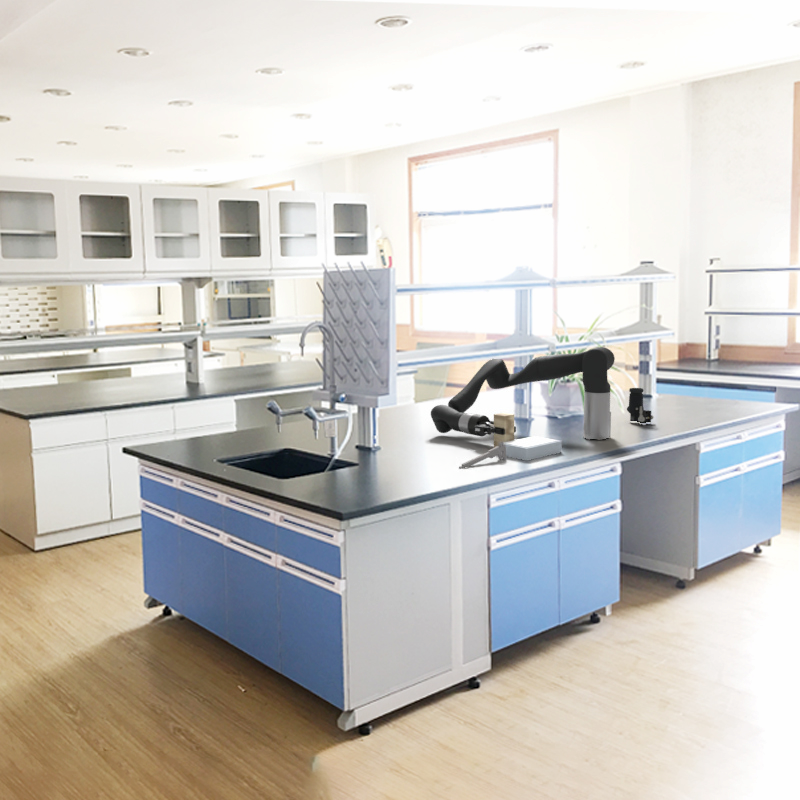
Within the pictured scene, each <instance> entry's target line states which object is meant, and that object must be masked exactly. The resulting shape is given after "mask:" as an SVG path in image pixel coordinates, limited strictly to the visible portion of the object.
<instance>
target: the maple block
mask: <svg viewBox="0 0 800 800" xmlns="http://www.w3.org/2000/svg"><path fill="white" fill-rule="evenodd" d="M493 421H494V426H495V427H499V428H504V429H505V434H504V435H501V434H493V448H495V447H497V446H499V444H498V443H501V441H502V442H508V441H513V440H515V433H514V426H515V414H514V413H508V412H500V413H495V414H493Z"/></svg>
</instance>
